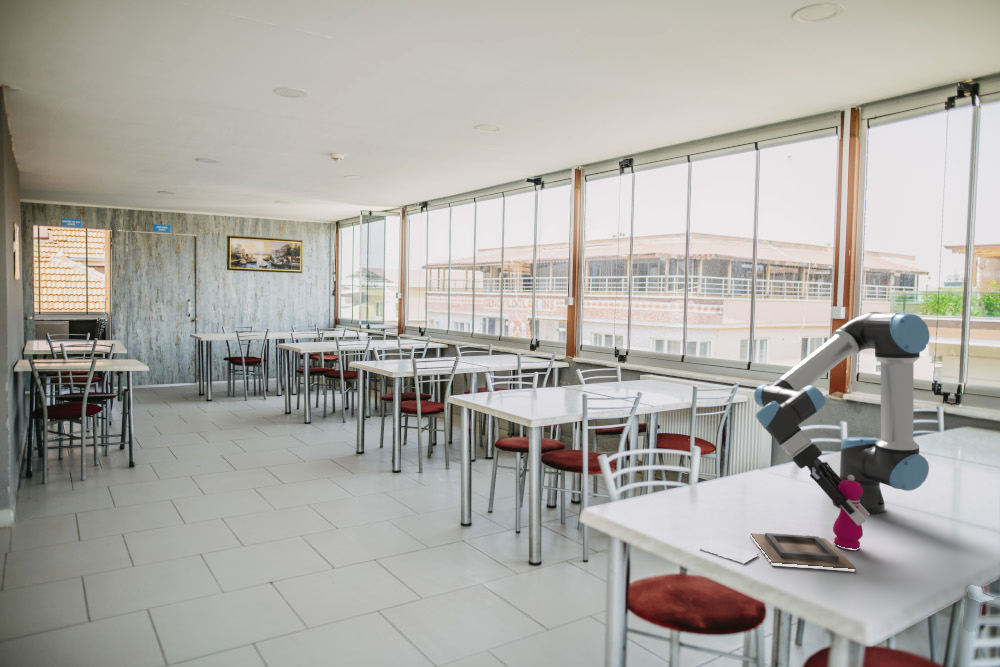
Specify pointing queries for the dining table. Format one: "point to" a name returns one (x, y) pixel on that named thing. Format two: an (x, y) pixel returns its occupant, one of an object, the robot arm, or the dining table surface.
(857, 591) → the dining table surface
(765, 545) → the pocket board
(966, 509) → the dining table surface
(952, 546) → the dining table surface
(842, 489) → the pepper mill
